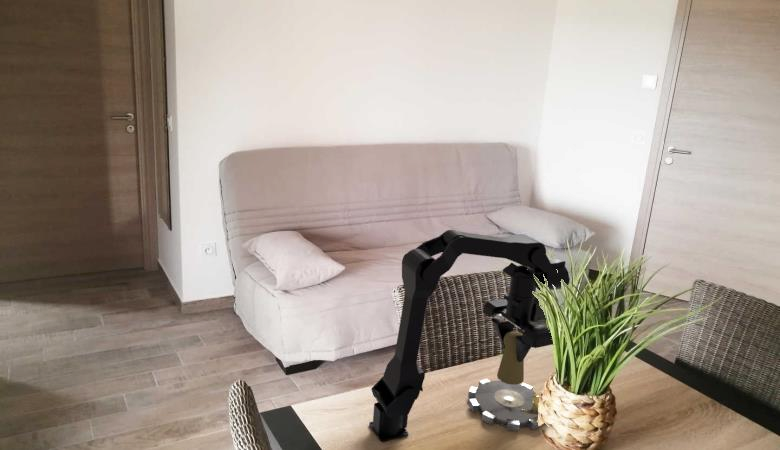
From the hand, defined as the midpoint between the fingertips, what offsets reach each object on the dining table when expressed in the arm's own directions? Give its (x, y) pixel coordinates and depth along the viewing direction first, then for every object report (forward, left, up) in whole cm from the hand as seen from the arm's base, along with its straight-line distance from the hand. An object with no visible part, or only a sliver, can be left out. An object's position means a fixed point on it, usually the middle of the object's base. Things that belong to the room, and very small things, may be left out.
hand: (513, 356), depth 132 cm
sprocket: (0, 0, -13) cm, 13 cm away
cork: (0, 0, -6) cm, 6 cm away
